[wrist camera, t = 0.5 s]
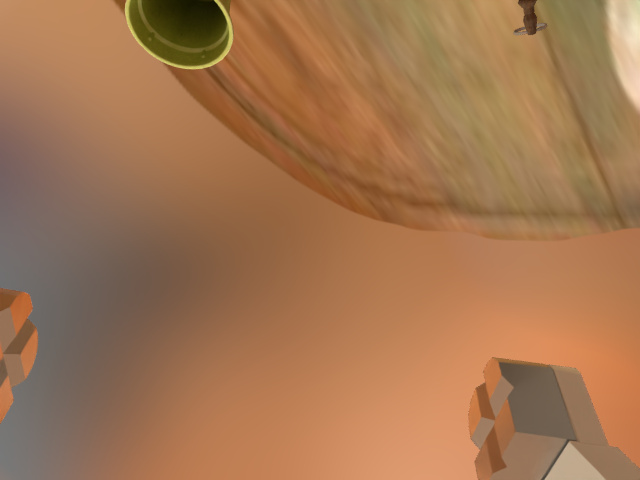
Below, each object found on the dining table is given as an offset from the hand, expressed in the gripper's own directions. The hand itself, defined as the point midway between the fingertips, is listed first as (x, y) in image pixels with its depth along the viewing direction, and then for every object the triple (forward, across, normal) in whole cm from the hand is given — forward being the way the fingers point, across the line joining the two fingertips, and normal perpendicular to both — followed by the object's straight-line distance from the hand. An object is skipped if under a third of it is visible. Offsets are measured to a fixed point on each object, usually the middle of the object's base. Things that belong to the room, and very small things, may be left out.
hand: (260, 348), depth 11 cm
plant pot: (+54, +12, +8) cm, 56 cm away
